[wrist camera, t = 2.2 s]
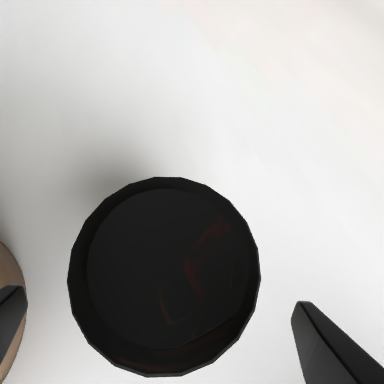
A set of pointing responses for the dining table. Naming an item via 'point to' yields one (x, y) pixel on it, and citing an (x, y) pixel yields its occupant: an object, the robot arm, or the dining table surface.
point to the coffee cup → (163, 277)
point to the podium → (11, 274)
